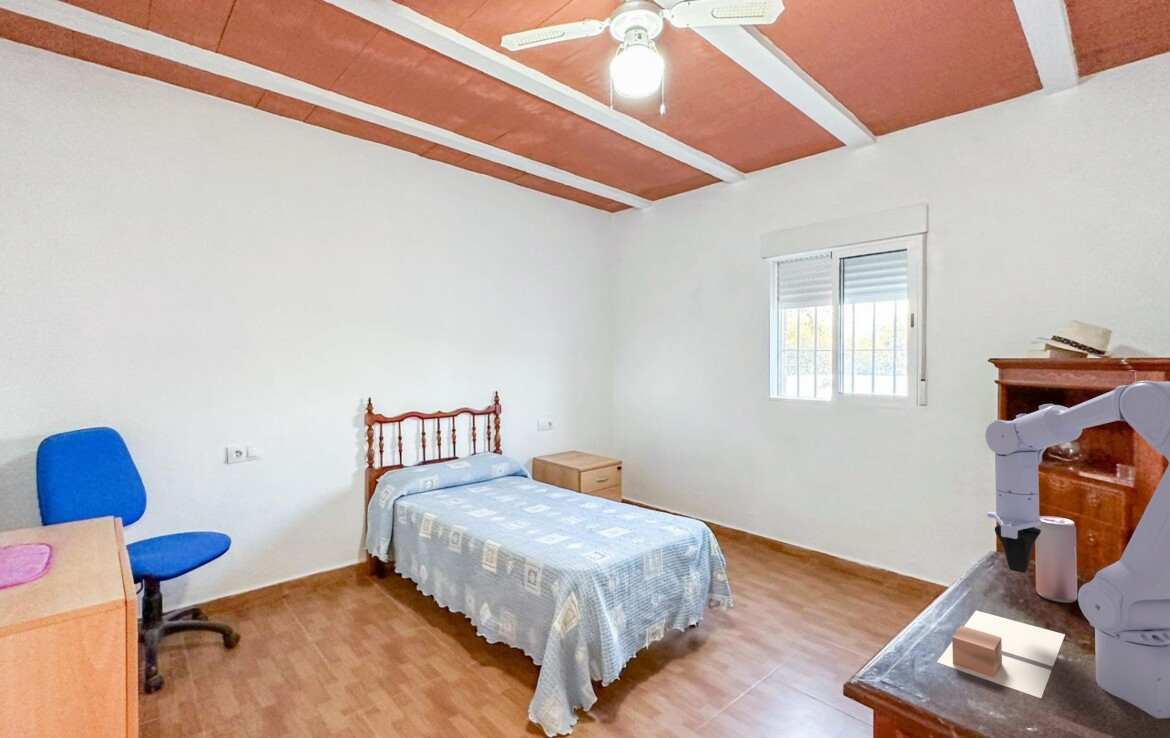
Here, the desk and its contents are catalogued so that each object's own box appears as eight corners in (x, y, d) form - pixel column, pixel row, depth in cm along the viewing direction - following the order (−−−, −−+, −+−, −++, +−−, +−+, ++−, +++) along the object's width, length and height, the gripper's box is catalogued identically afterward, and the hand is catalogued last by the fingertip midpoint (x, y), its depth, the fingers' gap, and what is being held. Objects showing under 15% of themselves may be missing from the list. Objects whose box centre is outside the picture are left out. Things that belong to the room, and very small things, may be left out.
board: (976, 615, 95) (975, 610, 95) (1065, 640, 86) (1065, 634, 86) (936, 668, 79) (936, 662, 79) (1041, 705, 70) (1041, 698, 70)
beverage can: (1035, 587, 106) (1034, 513, 106) (1075, 595, 103) (1074, 518, 103) (1036, 598, 102) (1035, 521, 102) (1078, 606, 98) (1077, 526, 98)
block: (961, 651, 82) (961, 625, 82) (1001, 664, 78) (1001, 637, 78) (952, 663, 79) (952, 637, 79) (994, 677, 75) (993, 649, 75)
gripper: (996, 480, 97) (998, 553, 97) (977, 494, 88) (979, 575, 88) (1047, 486, 92) (1048, 563, 92) (1032, 502, 82) (1034, 588, 83)
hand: (1018, 570), depth 90 cm, fingers closed
